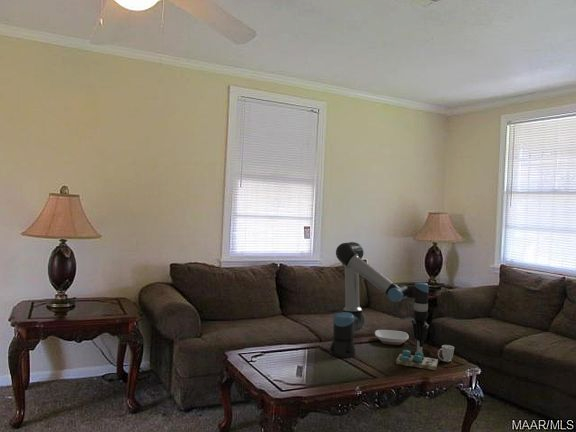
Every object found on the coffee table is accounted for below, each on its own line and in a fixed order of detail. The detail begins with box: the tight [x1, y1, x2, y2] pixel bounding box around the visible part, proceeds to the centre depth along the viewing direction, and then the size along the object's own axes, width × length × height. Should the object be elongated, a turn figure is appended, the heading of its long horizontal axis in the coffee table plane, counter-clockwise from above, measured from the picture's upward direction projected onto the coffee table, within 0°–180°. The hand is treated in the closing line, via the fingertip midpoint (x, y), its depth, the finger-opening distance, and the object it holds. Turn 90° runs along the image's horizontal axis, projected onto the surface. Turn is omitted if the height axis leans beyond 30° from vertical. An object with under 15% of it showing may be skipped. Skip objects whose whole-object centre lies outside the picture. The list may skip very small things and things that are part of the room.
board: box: [395, 353, 439, 371], centre depth 263 cm, size 21×14×2 cm, turn 67°
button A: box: [400, 356, 409, 362], centre depth 262 cm, size 4×4×3 cm
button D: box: [414, 351, 424, 359], centre depth 266 cm, size 4×4×3 cm
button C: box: [413, 354, 422, 363], centre depth 260 cm, size 4×4×3 cm
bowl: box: [374, 329, 410, 346], centre depth 305 cm, size 22×22×5 cm
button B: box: [401, 349, 411, 357], centre depth 269 cm, size 4×4×3 cm
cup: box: [437, 344, 455, 363], centre depth 270 cm, size 7×10×8 cm
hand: (419, 352), depth 266 cm, fingers closed
